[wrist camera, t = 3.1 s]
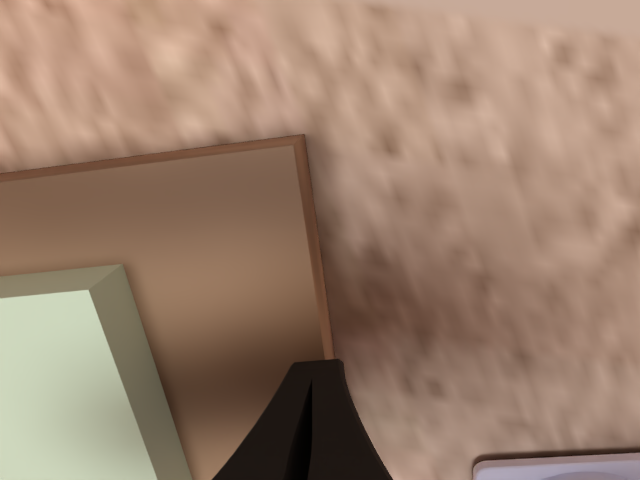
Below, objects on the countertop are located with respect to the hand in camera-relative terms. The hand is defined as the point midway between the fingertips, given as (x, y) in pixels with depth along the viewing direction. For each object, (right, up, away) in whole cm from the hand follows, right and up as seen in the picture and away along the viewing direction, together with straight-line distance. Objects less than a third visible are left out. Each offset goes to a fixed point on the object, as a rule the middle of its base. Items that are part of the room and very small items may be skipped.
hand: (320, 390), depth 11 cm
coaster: (-9, -1, +1) cm, 9 cm away
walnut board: (-6, 0, +4) cm, 8 cm away
